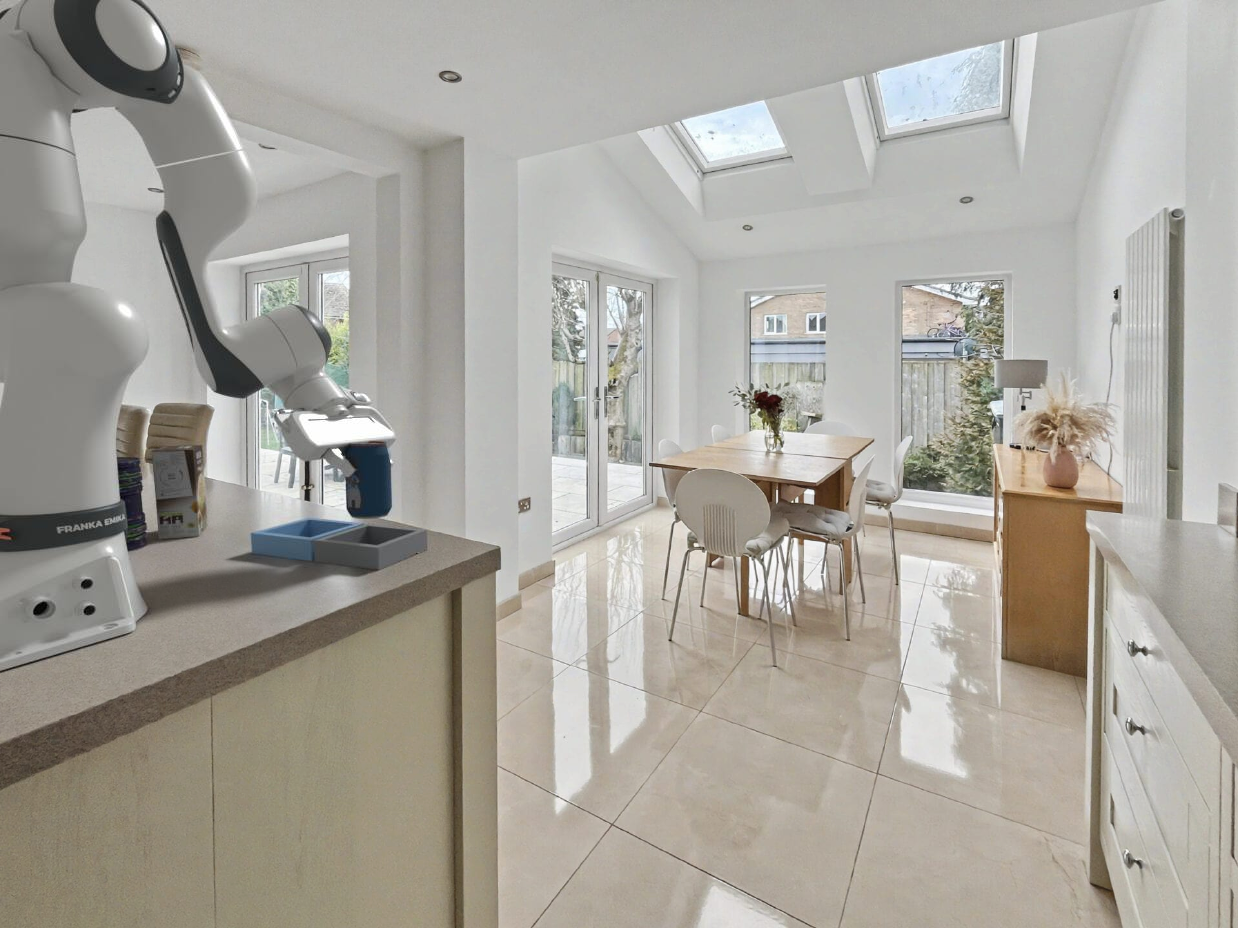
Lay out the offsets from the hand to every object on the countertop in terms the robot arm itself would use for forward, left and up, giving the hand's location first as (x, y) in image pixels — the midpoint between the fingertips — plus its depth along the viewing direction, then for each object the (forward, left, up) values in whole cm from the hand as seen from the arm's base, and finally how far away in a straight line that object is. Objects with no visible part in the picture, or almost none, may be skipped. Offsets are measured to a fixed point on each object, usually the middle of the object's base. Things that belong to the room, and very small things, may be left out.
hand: (371, 470), depth 102 cm
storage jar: (-12, +44, -15) cm, 48 cm away
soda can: (0, +1, -8) cm, 8 cm away
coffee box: (0, +43, -15) cm, 45 cm away
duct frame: (0, +7, -14) cm, 16 cm away
